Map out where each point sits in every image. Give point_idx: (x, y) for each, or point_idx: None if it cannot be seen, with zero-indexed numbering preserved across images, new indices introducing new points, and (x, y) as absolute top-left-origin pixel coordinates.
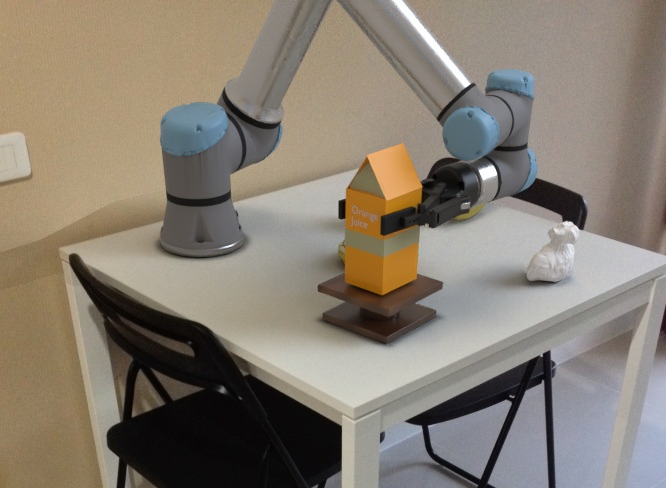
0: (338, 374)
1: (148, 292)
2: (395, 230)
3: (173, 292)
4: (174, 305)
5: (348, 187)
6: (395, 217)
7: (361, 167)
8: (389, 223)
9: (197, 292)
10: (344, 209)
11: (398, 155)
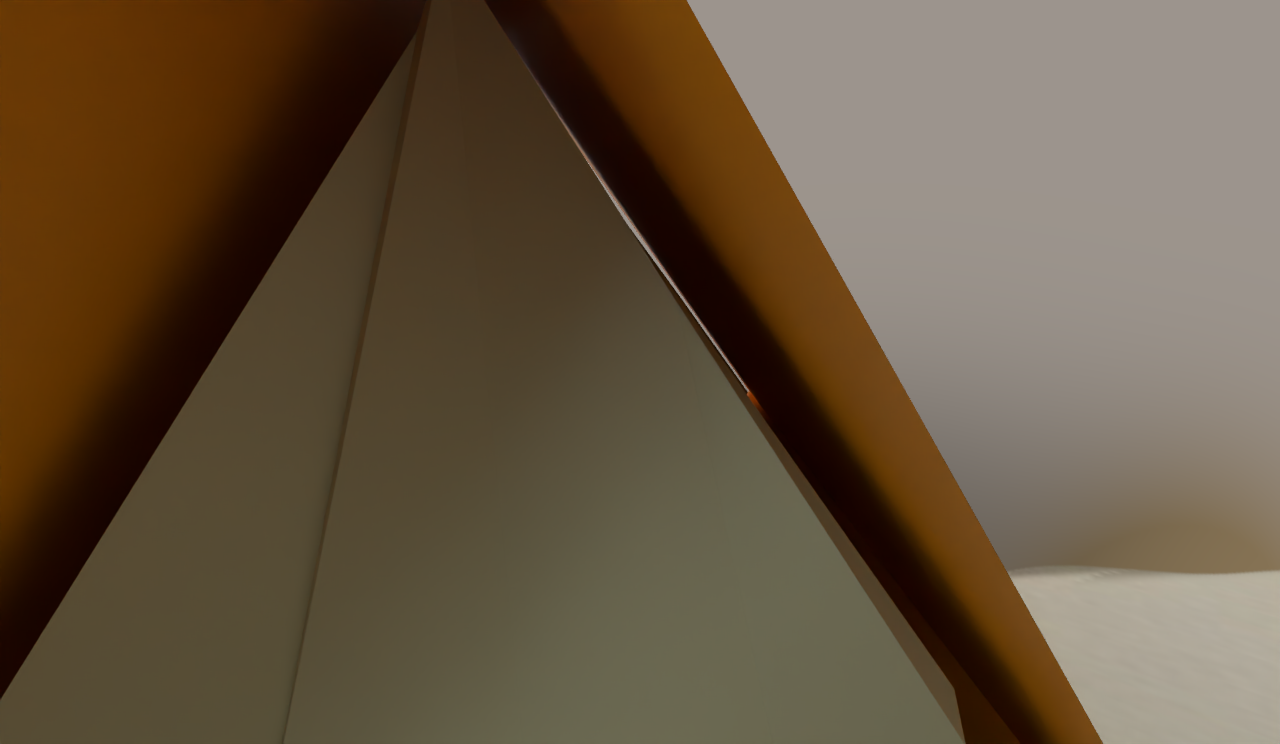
0: None
1: (1177, 583)
2: None
3: (1177, 627)
4: (1059, 591)
5: (753, 397)
6: None
7: (610, 192)
8: None
9: (1176, 677)
10: None
11: (291, 184)
